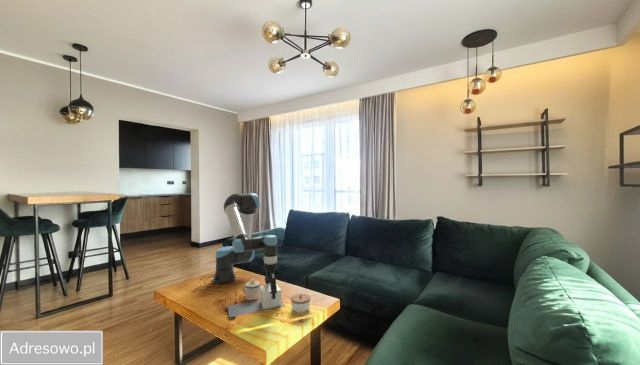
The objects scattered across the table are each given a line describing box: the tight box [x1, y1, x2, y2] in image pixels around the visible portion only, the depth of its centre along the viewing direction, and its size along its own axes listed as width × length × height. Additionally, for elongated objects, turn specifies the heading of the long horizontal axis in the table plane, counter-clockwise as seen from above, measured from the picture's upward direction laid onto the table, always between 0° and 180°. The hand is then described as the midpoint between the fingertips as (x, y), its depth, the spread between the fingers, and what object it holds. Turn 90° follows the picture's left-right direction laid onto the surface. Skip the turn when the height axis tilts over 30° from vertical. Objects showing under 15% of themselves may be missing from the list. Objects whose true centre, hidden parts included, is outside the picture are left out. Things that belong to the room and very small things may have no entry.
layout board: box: [227, 299, 286, 320], centre depth 149 cm, size 13×30×1 cm, turn 113°
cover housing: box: [259, 283, 282, 309], centre depth 152 cm, size 10×10×9 cm
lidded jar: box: [290, 293, 311, 314], centre depth 146 cm, size 11×11×9 cm
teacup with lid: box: [241, 278, 261, 301], centre depth 161 cm, size 12×9×12 cm
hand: (270, 299), depth 152 cm, fingers open, 13 cm apart
